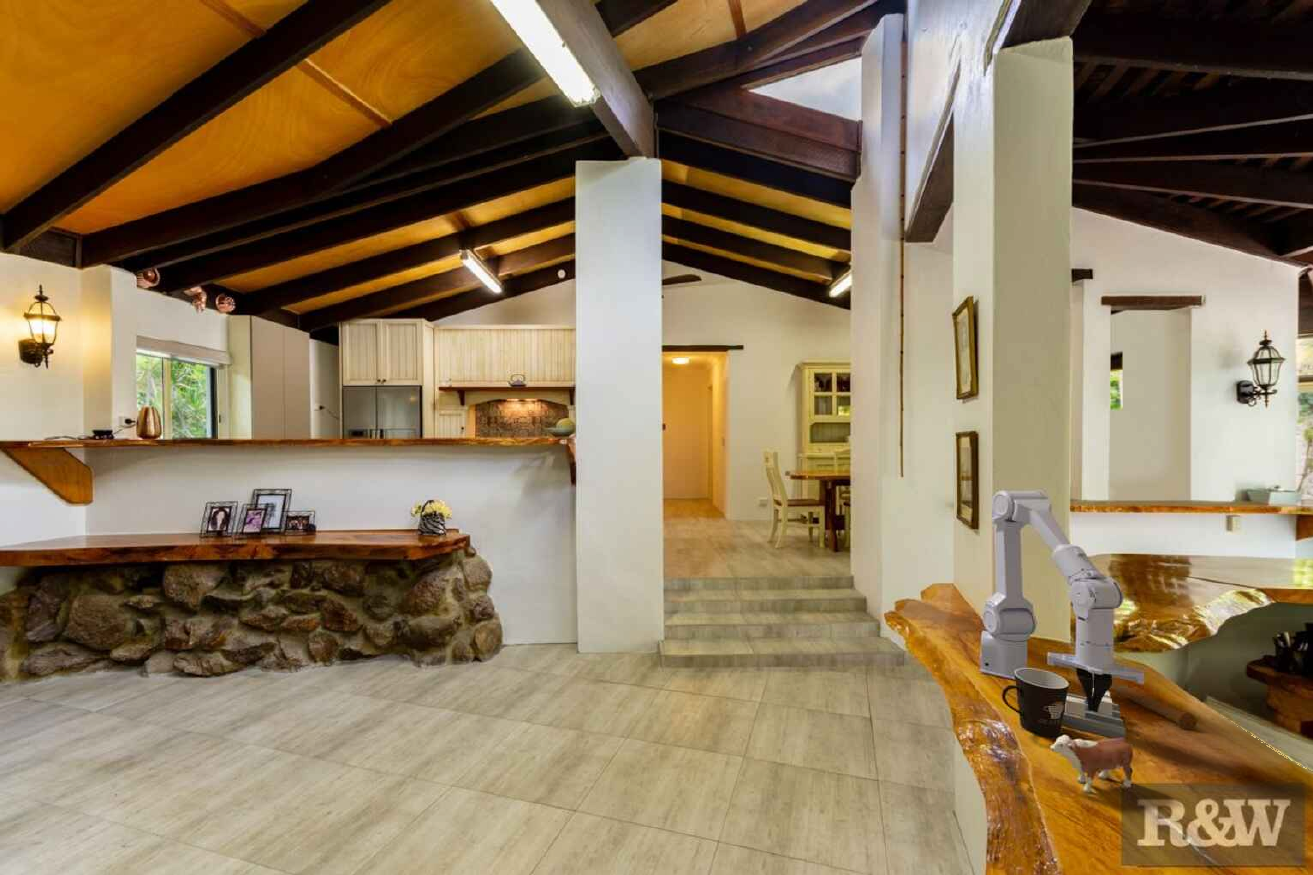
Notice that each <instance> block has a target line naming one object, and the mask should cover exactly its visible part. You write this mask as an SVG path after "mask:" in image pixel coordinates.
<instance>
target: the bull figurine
mask: <svg viewBox="0 0 1313 875" xmlns="http://www.w3.org/2000/svg"><path fill="white" fill-rule="evenodd" d="M1050 750H1051V752H1053V753H1055V754H1059V755H1061V756H1062V757H1063V758H1065V759H1068V760H1069V764H1071V766H1072V767H1073V768H1075V769H1076V771H1077V772H1078V773H1079V776H1078V777H1077V779H1076V781H1077V783H1078V784H1079V783H1080V784H1084V783H1085V782H1086V783H1085V784H1084V787H1083V788H1082V789H1081V790H1082V792H1084V793H1085V794H1088V795H1089V794H1091V791H1093V789H1092V785H1091V784H1092V783H1093V782H1094V778H1095V776H1096V774H1097V772H1098V771H1101V772H1099V774H1098V776H1097V777H1098V779H1100V780H1106V778H1108V777H1109V771H1113V772H1114V771H1116V770H1120V769H1121V767H1122V770H1123V772H1124V773H1125V779H1124V781H1123V783H1122V786H1123V787H1125V788H1126V789H1130V788H1131V785H1132V784H1133V783H1132V774H1133V772H1134V770H1133V769H1132V766H1131V764H1132V761H1133V757H1134V750H1133V748H1132V746H1131V745H1130V743H1129V742H1128V740H1127V739H1126V738H1125V739H1124V738H1118V739H1117V738H1102V739H1099V740H1098V739H1097V740H1088V739H1087V740H1086V739H1084V740H1083V739H1081V738H1077V739H1071V737H1069V735H1067V734H1063V735H1061V736H1059V737H1056V741H1055V742H1054V743H1053V744H1051V745H1050ZM1085 773H1086V774H1087V775H1085Z"/></svg>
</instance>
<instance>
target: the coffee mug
mask: <svg viewBox="0 0 1313 875" xmlns="http://www.w3.org/2000/svg"><path fill="white" fill-rule="evenodd" d="M1014 674H1015V680H1014V682H1015V685H1014V684H1010V685H1008V686H1006V687H1005V688H1004V689H1003V690H1002V693H1001V699H1002V701H1003V702H1004V704H1005V705H1006V706H1007V707H1008V708H1009V709H1011V710H1013V711H1014V712H1015V713H1017V714H1019V715H1018V716H1019V722H1020V726H1021V727H1022V728H1023V729H1024V730H1025V731H1027V732H1028V733H1030V734H1033V735H1036V736H1038V737H1042V738H1046V739H1047V738H1049V739H1055V738H1056V739H1057V738H1059V737H1061V733H1062V726H1063V725H1062V722H1063V716H1064V710H1065V703H1066V697H1067V693H1068V689H1069V682H1068V680H1067V679H1065V678H1064V677H1063V676H1061V675H1059V674H1056V673H1054V672H1051V671H1049V670H1048V671H1047V670H1044V669H1041V668H1040V669H1039V668H1033V667H1027V668H1019V669H1016V670H1015V671H1014ZM1012 689H1013V690H1015V691H1016V697H1017V706H1018V709H1017V708H1015V707H1014V706H1013V705H1011V704H1010V703H1009V702H1008V700H1007V698H1006V695H1007V693H1008V692H1010V690H1012Z"/></svg>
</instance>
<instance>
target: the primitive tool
mask: <svg viewBox="0 0 1313 875" xmlns="http://www.w3.org/2000/svg"><path fill="white" fill-rule="evenodd" d="M1108 690H1109V692H1113V693H1115V694H1117V695H1119V696H1121V697H1123V698H1124V699H1127V700H1129V701H1132V703H1133V702H1134V703H1135V704H1137V705H1140V706H1141V707H1143V708H1145V709H1147V710H1149V711H1151V712H1153V713H1155V714H1158V715H1160V716H1162V717H1164V718H1166V719H1167V720H1170V721H1171V722H1174V723H1175V724H1177V725H1178V727H1180V728H1181V729H1182V730H1189V731H1192V730H1194V729H1195V728H1196V727H1197V723H1198V721H1197V718H1196V716H1195V715H1194V714H1193V713H1192V712H1190V711H1187V712H1184V711H1181V710H1179V709H1176V708H1174V707H1172V706H1169V705H1167V704H1165V703H1163V702H1160V701H1159V700H1157V699H1155V698H1152V697H1150V696H1148V695H1145V694H1143V693H1141V692H1139V691H1137V690H1136V689H1134V688H1132V687H1131V686H1130V685H1128V684H1125V683H1122V682H1120V681H1112V685H1111V687H1110V688H1109V689H1108ZM1108 690H1107V691H1108Z"/></svg>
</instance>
